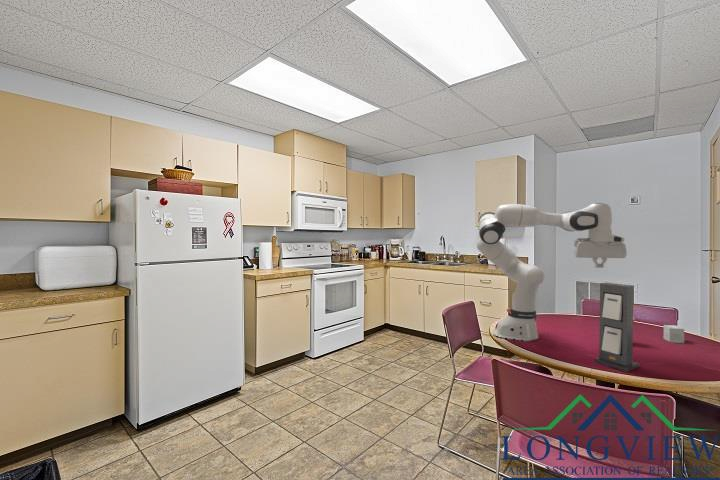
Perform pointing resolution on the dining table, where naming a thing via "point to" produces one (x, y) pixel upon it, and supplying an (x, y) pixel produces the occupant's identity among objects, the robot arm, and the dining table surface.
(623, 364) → the power strip
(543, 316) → the dining table surface
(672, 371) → the dining table surface
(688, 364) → the dining table surface
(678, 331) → the skincare box
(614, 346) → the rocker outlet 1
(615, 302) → the white rocker switch
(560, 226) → the robot arm
